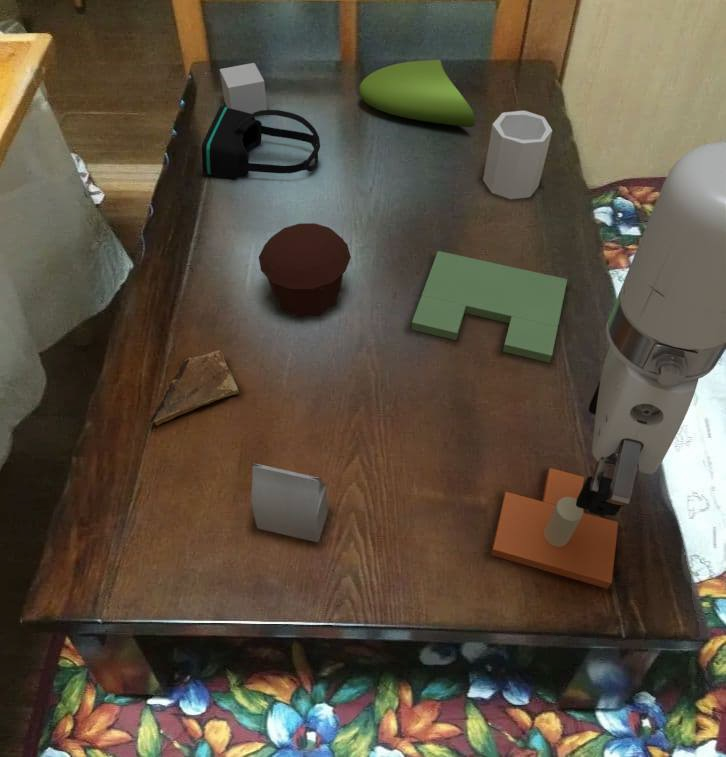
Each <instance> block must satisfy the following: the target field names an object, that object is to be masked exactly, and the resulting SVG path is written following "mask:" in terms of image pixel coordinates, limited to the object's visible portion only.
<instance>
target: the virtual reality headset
mask: <svg viewBox="0 0 726 757" xmlns="http://www.w3.org/2000/svg"><path fill="white" fill-rule="evenodd" d="M259 116H278V117H282V118H288V119H291V120H294V121H297V122H298V123H300V124H302V125H303V126H304V127H305V128H307V129H308V130H309V131H310V133H312V134H310V133H306V132H300V131H296V130H290V129H282V128H276V127H270V126H265V125H262V124H263V123H262V122H261V120H260V119H259V120H258V119H256V117H259ZM262 135H265V136H270V137H277V138H282V139H283V138H284V139H288V140H289V139H291V140H295V141H300V142H305V143H309V144H310V145H311V146H312V148H313V150H312V152H311V153H310V155H309V156H308V158H307V159H305V160H303V162H301V163H297V164H292V165H291V164H289V165H282V164H281V165H279V164H269V163H253V162H249V158H250V157H249V152H250V151H251V150H253V149H255V148H257V147H258V146H260V145H261V143H262ZM320 140H321V139H320V136H319V133H318V132H317V130H316V128H315V127H314V126H313V124H311V123H310V122H309V121H308V120H307V119H306V118H304V117H303V116H300V115H299V114H296V113H293V112H290V111H285V110H279V109H267V110H261V111H258V112H255V113H253V114H250V113H247V112H243V111H239V110H235V109H231V108H227V106H223V105H220V107H219V108H218V110H217V112H216V114H215V116H214V117H213V120H212V123H211V124H210V126H209V129H208V131H207V132H206V135H205V137H204V139H203V140H202V144H201V164H202V165H201V166H202V167H201V168H202V173H203V174H206V175H212V176H218V177H223V178H230V179H236V178H238V177H239V176H241V175H243V176H248V174H249V172H254V173H266V174H267V173H268V174H295V173H299V172H302V171H307V172H308V173H310V172H313V171H314V170H315V168H316V166H317V164H318V162H319V152H320V149H321V141H320ZM313 160H314V165H311V163H312V162H313Z"/></svg>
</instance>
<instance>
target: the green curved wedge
mask: <svg viewBox="0 0 726 757" xmlns="http://www.w3.org/2000/svg"><path fill="white" fill-rule="evenodd" d="M358 93H359V96H360V98H361V99H362V100H363V101H364V102H365V103H366V104H368V105H369V106H370V107H372V108H374V109H376V110H378V111H380V112H383V113H386V114H389V115H392V116H397V117H401V118H405V119H410V120H414V121H415V120H416V121H421V122H427V123H434V124H441V125H447V126H448V125H449V126H456V127H463V128H474V126H475V125H476V117H475V116H476V115H475V114H474V112H473V109H472V108H471V106H470V104H469V103H468V102H467V100H466V99H465V97H464V96H463V94H462V93H460V91H459V89H458V88H457V87H456V86H455V84H454V83H453V82H452V80H451V79H450V78H449V76H448V75H447V74H446V72H445V70H444V68H443V65H442V60H441V59H425V60H424V59H423V60H414V61H405V62H400V63H395V64H391V65H388V66H385V67H382V68H380V69H377V70H375V71H373V72H372V73H370V74H369V75H367V76H366V77H365V78H364V79H363V80H362V81H361V82H360V84H359V86H358Z"/></svg>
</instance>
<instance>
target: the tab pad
mask: <svg viewBox="0 0 726 757" xmlns="http://www.w3.org/2000/svg"><path fill="white" fill-rule="evenodd" d="M584 483H585V477H584V476H582V475H578V474H574V473H570V472H566V471H564V470H559V469H555V468H552V467H549V469H548V471H547V473H546V477H545V483H544V488H543V494H542V499H541V500H538V499H535V498H531V497H527V496H523V495H519V494H516V493H513V492H509V491H505V492H504V494H503V498H502V502H501V506H500V507H501V508H500V511H499V516H498V520H497V526H496V530H495V535H494V539H493V544H492V549H491V553H490V555H491V556H493V557H496V558H500V559H504V560H507V561H510V562H514V563H517V564H520V565H524V566H528V567H531V568H535V569H538V570H541V571H545V572H548V573H552V574H554V575H555V574H556V575H559V576H562V577H566V578H569V579H573V580H576V581H579V582H583V583H586V584H590V585H594V586H596V587H600V588H603V589H607V590H608V589H609V588H610V586H611V585H612V583H613V574H614V565H615V556H616V547H617V538H618V529H619V521H615V520H612V519H608V518H604V517H602V516H598V515H597V516H596V515H594V514H590V513H585V511H584V510H585V509H583V508H579V507H577V506H576V501H577V498H578V496H579V494H580V492H581V490H582V488H583V486H584Z"/></svg>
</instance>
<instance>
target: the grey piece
mask: <svg viewBox="0 0 726 757" xmlns="http://www.w3.org/2000/svg"><path fill="white" fill-rule="evenodd" d="M251 479H252V481H251V496H250V504H251V508H252V511H253V516H254V521H255V526H256V529H258V530H263V531H266V532H271V533H275V534H279V535H284V536H287V537H291V538H297V539H301V540H305V541H308V542H312V543H320V541H321V540H320V539H321V536H322V533H323V530H324V526H325V523H326V520H327V517H328V513H329V507H328V504H329V503H328V489H327V488H328V487H327V484H326V483H324V482H323V481H322V478H321V477H317V476H314V475H313V476H312V475H310V474H304V473H299V472H295V471H291V470H286V469H282V468H278V467H273V466H268V465H263V464H259V463H253V465H252V478H251Z"/></svg>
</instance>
